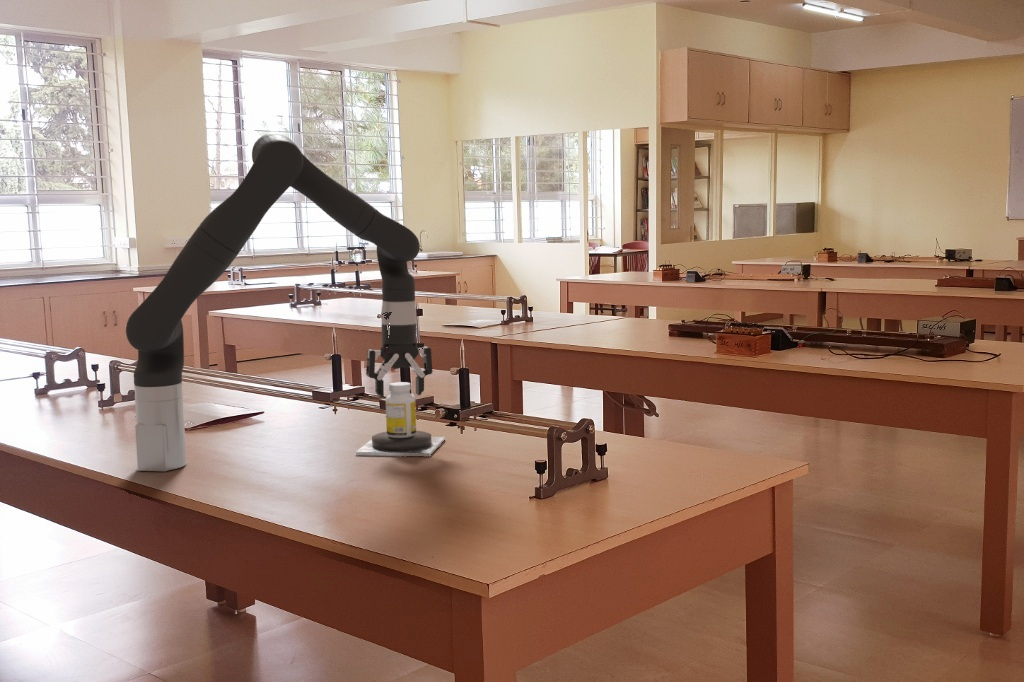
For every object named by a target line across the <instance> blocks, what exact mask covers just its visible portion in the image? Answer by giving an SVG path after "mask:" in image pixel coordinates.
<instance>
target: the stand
mask: <svg viewBox="0 0 1024 682" xmlns="http://www.w3.org/2000/svg"><path fill="white" fill-rule="evenodd" d="M444 440H445V441H446V437H445V436H432V433H429V432H427V431H421V430H416V434H415V435H414V436H412V437H408V438H391V437H389V436H388V435H387V431H383V432H379V433H375V434H374V435H373V436H371V439H370V440H369V441H367V442H366V443H365V444H363V445H362V446H361V447H360V448H358V449H357V450H355V456H363V457H365V456H367V457H371V456H373V457H402V456H404V458H405V457H406V456H429V457H428V458H430V457H432V455H433V454H434V453H435V452H436V451H437V450H438V449H439V448H440V446H442V444H443V443H444V442H445V441H444ZM443 441H444V442H443ZM442 442H443V443H442ZM441 443H442V444H441ZM438 447H439V448H438ZM437 448H438V449H437ZM436 449H437V450H436ZM435 450H436V451H435ZM434 451H435V452H434ZM433 452H434V453H433ZM432 453H433V454H432ZM431 454H432V455H431ZM406 458H407V457H406Z"/></svg>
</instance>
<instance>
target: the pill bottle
mask: <svg viewBox="0 0 1024 682" xmlns="http://www.w3.org/2000/svg"><path fill="white" fill-rule="evenodd" d="M388 388H389V391H390V394H388V395H387V396H386V397H385V422H386V432H387V435H388V436H389V437H391V438H408V437H412V436H414V435H415V434H416V431H417V416H416V415H417V414H416V413H417V412H416V407H417V406H416V397H415V395H414V394H412V393H411V389H412V385H411V382H407V381H405V382H404V381H398V382H391V383H389V387H388Z"/></svg>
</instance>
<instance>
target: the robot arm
mask: <svg viewBox="0 0 1024 682" xmlns="http://www.w3.org/2000/svg"><path fill="white" fill-rule="evenodd" d="M251 159H252V166H251V167H250V168H249V171H248V172H247V174H246V175H245V177H244V178H243V180H242V182H241V183H240V184H239V186H238V187H237V188H236V189H235V190H234V191H233V193H232V194H231V195H229V197H227V198H226V199H225V200H224V201H222V202H221V203H220V204H218V206H216V207H215V208H214V209H213V210H212V211H211V212H210V213H209V214H207V216H206V217H205V218H204V219H203V220H202V221H201V222H200V224H199V225H198V227H197V228H196V229H195V230H194V232H193V233H192V235H191V236H190V237H189V238H188V240H187V241H186V243H185V245H183V246H184V247H183V248H182V249H181V250H180V252H179V254H177V256H176V258H175V259H174V260H173V263H172V264H171V266H170V267H169V269H168V271H167V273H166V274H164V277H163V278H162V280H161V281H160V282H159V284H158V285H157V286H156V287H155V288H154V289H153V290H152V291H151V293H150V294H149V295H148V296H147V297H146V298H145V299H144V301H142V302H141V304H140V305H138V307H136V309H135V310H134V311H133V312H132V313H131V314H130V316H129V318H128V320H127V321H126V326H125V336H126V338H127V341H128V343H129V344H130V346H131V347H133V348H134V349H135V350H137V363H136V366H135V369H134V371H133V388H134V404H135V405H134V406H135V422H136V423H135V425H134V426H135V427H134V428H135V444H136V446H135V448H136V459H137V460H136V462H137V471H139V472H141V471H142V472H167V471H168V472H169V471H170V470H176V469H179V468H182V467H184V466H186V465H187V452H186V451H187V449H186V431H185V430H186V429H185V413H184V410H185V409H184V394H183V393H184V392H183V391H184V390H183V369H184V365H185V345H184V343H185V342H184V341H185V340H184V339H185V338H184V324H183V321H182V319H183V317H184V316H185V314H186V313H187V311H188V310H189V308H190V307H191V306H192V304H193V303H194V302H195V301H196V300H197V299H198V298H199V297H200V296H201V295H202V294H203V293H204V292H205V291H206V290H208V289H209V288H210V286H212V285H213V284H214V283H215V282H216V281H217V280H218V279H219V278H220V277H221V276H222V275H223V274H224V273H225V272H226V270H227V269H228V268H229V267H230V266H231V264H232V263H233V262H234V260H235V259H236V258H237V256H238V255H239V254H240V252H242V250H243V248H244V246H245V245H246V243H247V242H248V240H249V239H250V237H251V236H252V235H253V233H254V232H255V230H256V229H257V228H258V226H259V224H260V223H261V221H262V220H263V218H264V216H266V214H267V212H269V210H270V209H271V208H272V207H273V205H274V204H275V203H276V202H277V201H278V200H279V198H281V197H282V195H283V194H284V193H285V192H286V191H287V190H288V189H289V188H292V189H294V190H295V191H297V192H299V193H300V194H302V196H305V197H306V198H307V199H308V200H310V201H311V202H312V203H313V204H315V205H316V206H317V207H319V209H321V210H322V211H323V212H324V213H325V214H326V215H328V216H329V217H330V218H331V219H332V220H334V221H335V222H336V223H338V224H339V225H340V226H342V227H343V228H345V229H346V230H348V231H349V232H350V233H352V234H353V235H355V237H357V238H359V239H361V240H363V241H365V242H370V243H371V244H373V245H375V246H376V256H377V264H378V268H379V274H380V277H381V281H382V286H381V289H382V291H381V294H382V296H381V297H382V301H381V302H382V303H381V314H383V313H385V312H388V313H389V312H392V313H391V315H390V316H389V319H388V318H387V320H386V319H385V318H384V317H386V316H384V315H385V314H387V313H385V314H383V317H381V316H380V317H381V319H380V320H381V348H380V349H371V348H370V349H368V350H367V351H366V367H365V368H366V369H365V370H366V372H365V375H366V376H367V377H369V378H370V379H374V382H375V383H374V384H375V385H374V386H375V387H374V388H375V389H374V391H375V394H376V395H377V396H378V397H379V398H384V395H385V394H384V393H385V392H384V391H385V390H384V388H385V387H384V383H385V382H384V379H383V378H384V377H385V375H386V374H387V373H389V371H390V369H394V370H396V369H400V368H402V369H408V368H410V369H411V370H412V371H413V373H415V375H416V376H415V393H416V395H419V396H420V395H422V394H423V392H424V390H425V377H426V376H428V375H432V374H433V362H432V361H433V359H432V357H433V356H432V348H431V347H429V346H426V345H424V346H423V347H418V345H417V339H418V338H417V335H418V334H417V321H418V317H417V307H416V286H415V284H416V282H415V279H414V276H413V275H412V274H411V273H410V271H409V269H408V262H411V261H413V260H415V259H416V258H417V256H418V255H419V253H420V247H421V246H420V241H419V238H418V237H417V235H416V234H415V233H414V232H413V231H412V230H411V229H409V228H408V227H406V226H405V225H403V224H402V223H400V222H398V221H396V220H394V219H393V218H390V217H389V216H387V215H384V214H383V213H382V212H380V211H379V210H378V209H377V208H375V207H374V206H373V205H371V204H370V203H368V202H367V201H366V200H364V199H363V198H361V196H359V195H357V194H356V193H354V192H353V191H351V190H349V189H348V188H347V187H345V186H344V185H342V184H341V183H339V182H338V181H336V180H334V179H333V178H332V177H331V176H329V175H327V174H326V173H325V172H324V171H322V170H321V169H320V168H319V167H317V166H316V165H315V163H313V162H312V161H311V160H310V159H308V158H307V157H306V155H305V154H303V153H302V151H301V150H300V148H299V147H298V145H297V144H296V143H295V142H294V141H293V140H292V139H290V137H287V136H286V135H284V134H281V133H276V132H274V133H267V134H264V135H262V136H260V137H259V138H258V139H257V140H256V141H255V142H254V144H253V146H252V149H251ZM389 323H390V324H389ZM387 325H388V327H389V326H390V335H388V330H387ZM388 336H389V338H388ZM386 347H388V348H389V350H388V352H386V353H387V354H391V355H387V354H385V353H384V349H385V348H386ZM422 348H423V349H422ZM419 349H420V350H419ZM386 350H387V349H386ZM419 354H420V357H421V358H422V363H423V369H422V368H421V366H420V365H419V364H418V363H417V361H416V358H417V356H418V355H419ZM379 356H380V358H382V360H383V361H382V363H381V364H380V365H379V368H378V369H377V371H376V372H375V369H376V361H377V360H378V359H379Z"/></svg>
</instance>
